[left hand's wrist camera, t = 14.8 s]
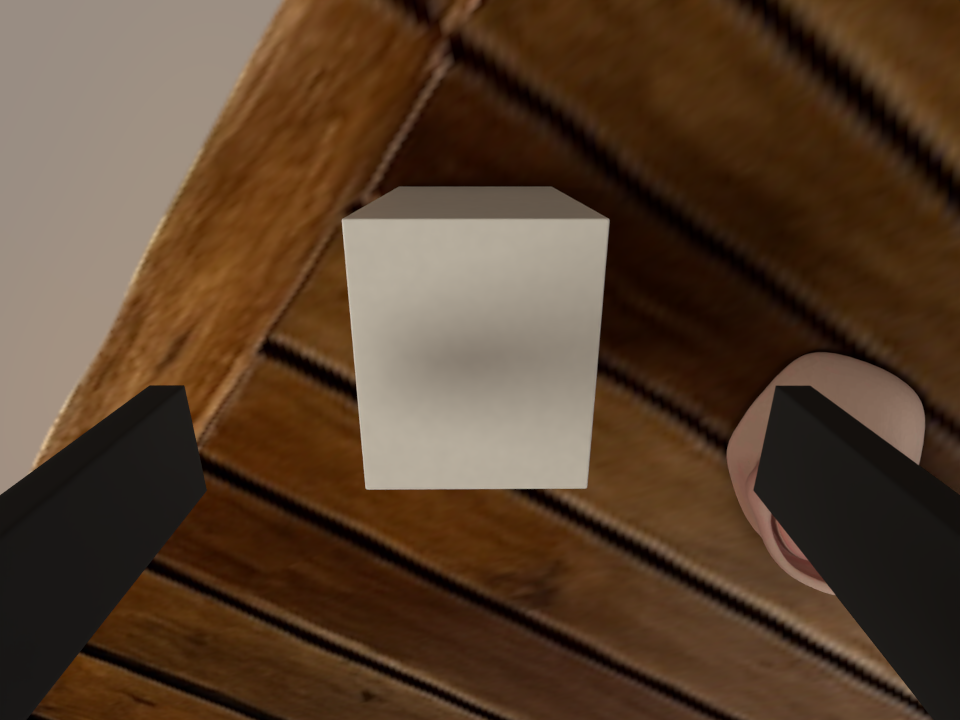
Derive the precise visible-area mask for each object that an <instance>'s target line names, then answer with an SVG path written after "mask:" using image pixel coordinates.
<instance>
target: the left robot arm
mask: <svg viewBox="0 0 960 720" xmlns="http://www.w3.org/2000/svg"><path fill="white" fill-rule="evenodd" d="M206 491H207V489H206V485H205V480H204V475H203V471H202V466H201V461H200V457H199V452H198V447H197V443H196V438H195V433H194V429H193V424H192V419H191V415H190V410H189V405H188V401H187V396H186V391H185V387H184V386H148V387H147V388H146V389H144V390H143V391H142V392H140V393H139V394H138V395H136V396H135V397H133V398H132V399H131V400H129V401H128V402H127V403H125V404H124V405H123V406H121V407H120V408H118V409H117V410H116V411H114V412H113V413H112V414H110V415H109V416H108V417H106V418H105V419H103V420H102V421H101V422H99V423H98V424H97V425H95V426H94V427H93V428H91V429H90V430H88V431H87V432H86V433H84V434H83V435H82V436H80V437H79V438H78V439H76V440H75V441H73V442H72V443H71V444H69V445H68V446H67V447H65V448H64V449H63V450H61V451H60V452H58V453H57V454H56V455H54V456H53V457H52V458H50V459H49V460H48V461H46V462H45V463H43V464H42V465H41V466H39V467H38V468H37V469H35V470H34V471H33V472H31V473H30V474H28V475H27V476H26V477H24V478H23V479H22V480H20V481H19V482H18V483H16V484H15V485H13V486H12V487H11V488H9V489H8V490H7V491H5V492H4V493H3V494H1V495H0V720H26V719H27V718H28V717H29V716H30V714H31V713H32V712H33V711H34V709H35V708H36V707H37V705H38V704H39V703H40V702H41V700H42V699H43V698H44V697H45V695H46V694H47V693H48V691H49V690H50V689H51V688H52V686H53V685H54V684H55V683H56V681H57V680H58V679H59V677H60V676H61V675H62V674H63V672H64V671H65V670H66V669H67V667H68V666H69V665H70V664H71V662H72V661H73V660H74V658H75V657H76V656H77V655H78V653H79V652H80V651H81V650H82V648H83V647H84V646H85V644H86V643H87V642H88V641H89V639H90V638H91V637H92V636H93V634H94V633H95V632H96V630H97V629H98V628H99V627H100V625H101V624H102V623H103V622H104V620H105V619H106V618H107V617H108V615H109V614H110V613H111V611H112V610H113V609H114V608H115V606H116V605H117V604H118V603H119V601H120V600H121V599H122V597H123V596H124V595H125V594H126V592H127V591H128V590H129V589H130V587H131V586H132V585H133V583H134V582H135V581H136V580H137V578H138V577H139V576H140V575H141V573H142V572H143V571H144V570H145V568H146V567H147V566H148V564H149V563H150V562H151V561H152V559H153V558H154V557H155V556H156V554H157V553H158V552H159V550H160V549H161V548H162V547H163V545H164V544H165V543H166V542H167V540H168V539H169V538H170V536H171V535H172V534H173V533H174V531H175V530H176V529H177V528H178V526H179V525H180V524H181V522H182V521H183V520H184V519H185V517H186V516H187V515H188V514H189V512H190V511H191V510H192V509H193V507H194V506H195V505H196V503H197V502H198V501H199V500H200V498H201V497H202V496H203V495H204V493H205V492H206ZM753 491H754V492H755V493H756V495H757V496H758V497H759V498H760V500H761V501H762V502H763V503H764V505H765V506H766V507H767V509H768V510H769V511H770V512H771V514H772V515H773V516H774V517H775V519H776V520H777V521H778V523H779V524H780V525H781V526H782V528H783V529H784V530H785V531H786V533H787V534H788V535H789V536H790V538H791V539H792V540H793V542H794V543H795V544H796V545H797V547H798V548H799V549H800V550H801V552H802V553H803V554H804V556H805V557H806V558H807V559H808V561H809V562H810V563H811V564H812V566H813V567H814V568H815V570H816V571H817V572H818V573H819V575H820V576H821V577H822V578H823V580H824V581H825V582H826V583H827V585H828V586H829V587H830V589H831V590H832V591H833V592H834V594H835V595H836V596H837V597H838V599H839V600H840V601H841V603H842V604H843V605H844V606H845V608H846V609H847V610H848V611H849V613H850V614H851V615H852V617H853V618H854V619H855V620H856V622H857V623H858V624H859V625H860V627H861V628H862V629H863V630H864V632H865V633H866V634H867V636H868V637H869V638H870V639H871V641H872V642H873V643H874V644H875V646H876V647H877V648H878V650H879V651H880V652H881V653H882V655H883V656H884V657H885V658H886V660H887V661H888V662H889V664H890V665H891V666H892V667H893V669H894V670H895V671H896V672H897V674H898V675H899V676H900V677H901V679H902V680H903V681H904V683H905V684H906V685H907V686H908V688H909V689H910V690H911V691H912V693H913V694H914V695H915V697H916V698H917V699H918V700H919V702H920V703H921V704H922V705H923V707H924V708H925V709H926V711H927V712H928V713H929V714H930V716H931V717H932V718H933V719H934V720H960V495H959V494H957V493H956V492H955V491H953V490H952V489H951V488H949V487H948V486H947V485H945V484H944V483H942V482H941V481H940V480H938V479H937V478H936V477H934V476H933V475H932V474H930V473H929V472H927V471H926V470H925V469H923V468H922V467H921V466H919V465H918V464H917V463H915V462H914V461H912V460H911V459H910V458H908V457H907V456H906V455H904V454H903V453H902V452H900V451H899V450H897V449H896V448H895V447H893V446H892V445H891V444H889V443H888V442H887V441H885V440H884V439H882V438H881V437H880V436H878V435H877V434H876V433H874V432H873V431H872V430H870V429H869V428H867V427H866V426H865V425H863V424H862V423H861V422H859V421H858V420H857V419H855V418H854V417H852V416H851V415H850V414H848V413H847V412H846V411H844V410H843V409H842V408H840V407H839V406H837V405H836V404H835V403H833V402H832V401H831V400H829V399H828V398H827V397H825V396H824V395H822V394H821V393H820V392H818V391H817V390H816V389H814V388H813V387H812V386H776V387H775V391H774V396H773V401H772V405H771V410H770V415H769V419H768V424H767V429H766V433H765V438H764V443H763V447H762V452H761V457H760V461H759V466H758V471H757V475H756V480H755V485H754V489H753Z"/></svg>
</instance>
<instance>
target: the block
mask: <svg viewBox="0 0 960 720" xmlns="http://www.w3.org/2000/svg"><path fill="white" fill-rule="evenodd" d="M609 222H610V220H609V219H608V218H607V217H605V216H603V215H601V214H599V213H598V212H596V211H594V210H592V209H591V208H589V207H587V206H585V205H583V204H582V203H580V202H578V201H576V200H574V199H573V198H571V197H569V196H567V195H566V194H564V193H562V192H560V191H558V190H557V189H555V188H553V187H398V188H396V189H394V190H392V191H391V192H389V193H387V194H385V195H384V196H382V197H380V198H378V199H377V200H375V201H373V202H371V203H370V204H368V205H366V206H364V207H363V208H361V209H359V210H357V211H356V212H354V213H352V214H350V215H349V216H347V217H345V218H343V219H342V228H343V240H344V251H345V262H346V273H347V285H348V296H349V307H350V318H351V329H352V341H353V352H354V363H355V374H356V386H357V397H358V408H359V419H360V430H361V442H362V453H363V464H364V475H365V487H366V489H567V488H587V483H588V471H589V459H590V448H591V436H592V424H593V412H594V400H595V388H596V376H597V364H598V353H599V341H600V329H601V317H602V305H603V293H604V281H605V269H606V258H607V246H608V234H609Z"/></svg>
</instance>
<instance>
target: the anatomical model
mask: <svg viewBox="0 0 960 720" xmlns="http://www.w3.org/2000/svg"><path fill="white" fill-rule="evenodd" d="M776 386H812V387H813V388H814V389H816V390H817V391H818V392H820V393H821V394H822V395H824V396H825V397H827V398H828V399H829V400H831V401H832V402H833V403H835V404H836V405H837V406H839V407H840V408H842V409H843V410H844V411H846V412H847V413H848V414H850V415H851V416H852V417H854V418H855V419H857V420H858V421H859V422H861V423H862V424H863V425H865V426H866V427H867V428H869V429H870V430H872V431H873V432H874V433H876V434H877V435H878V436H880V437H881V438H882V439H884V440H885V441H887V442H888V443H889V444H891V445H892V446H893V447H895V448H896V449H897V450H899V451H900V452H902V453H903V454H904V455H906V456H907V457H908V458H910V459H911V460H912V461H914V462H915V463H917V464H918V465H919V462H920V458H921V452H922V447H923V441H924V432H925V415H924V410H923V406H922V403H921V401H920V399H919V397H918V396H917V394H916V393H915V392H914V390H913V389H912V388H911V387H910V386H908V385H907V384H906V383H905V382H903V381H902V380H901V379H899V378H898V377H896V376H895V375H893V374H891V373H889V372H887V371H886V370H884V369H882V368H879V367H877V366H874V365H872V364H869V363H867V362H864V361H861V360H858V359H855V358H852V357H849V356H844V355H840V354H836V353H828V352H815V353H809V354H806V355H804V356H801V357H799V358H798V359H796V360H794V361H793V362H792V363H790V364H789V365H788V366H787V367H786V368H784V369H783V370H782V371H781V372H780V373H779V374H778V375H777V376H776V377H775V378H774V379H773V381H772V382H771V383H770V384H769V385H768V386H767V387H766V389H765V390H764V391H763V392H762V393H761V394H760V395H759V397H758V398H757V399H756V400H755V401H754V402H753V404H752V405H751V406H750V408H749V409H748V410H747V412H746V413H745V415H744V416H743V418H742V420H741V421H740V423H739V424H738V426H737V427H736V429H735V430H734V432H733V434H732V436H731V438H730V440H729V444H728V448H727V463H728V469H729V473H730V477H731V481H732V484H733V487H734V490H735V493H736V496H737V498H738V501H739V503H740V506H741V508H742V510H743V512H744V514H745V516H746V518H747V519H748V521H749V522H750V524H751V525H752V527H753V528H754V530H755V531H756V532H757V533H758V534H759V535H760V536H761V537H762V539H763V542H764V544H765V546H766V548H767V550H768V551H769V553H770V555H771V556H772V558H773V559H774V560H775V562H776V563H777V564H778V565H779V566H780V567H781V568H782V569H783V570H784V571H785V572H787V573H788V574H789V575H791V576H792V577H793V578H795V579H797V580H798V581H800V582H802V583H804V584H806V585H808V586H810V587H812V588H815V589H817V590H820V591H823V592H825V593H829V594H832V595H835V594H834V592H833V591H832V590H831V589H830V587H829V586H828V585H827V583H826V582H825V581H824V580H823V578H822V577H821V576H820V575H819V573H818V572H817V571H816V570H815V568H814V567H813V566H812V564H811V563H810V562H809V561H808V559H807V558H806V557H805V556H804V554H803V553H802V552H801V550H800V549H799V548H798V547H797V545H796V544H795V543H794V542H793V540H792V539H791V538H790V536H789V535H788V534H787V533H786V531H785V530H784V529H783V528H782V526H781V525H780V524H779V523H778V521H777V520H776V519H775V517H774V516H773V515H772V514H771V512H770V511H769V510H768V509H767V507H766V506H765V505H764V503H763V502H762V501H761V500H760V498H759V497H758V496H757V495H756V493H755V492H754V491H753V489H754V485H755V480H756V475H757V471H758V466H759V461H760V457H761V452H762V447H763V443H764V438H765V433H766V429H767V424H768V419H769V415H770V410H771V405H772V401H773V396H774V391H775V387H776Z"/></svg>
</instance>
